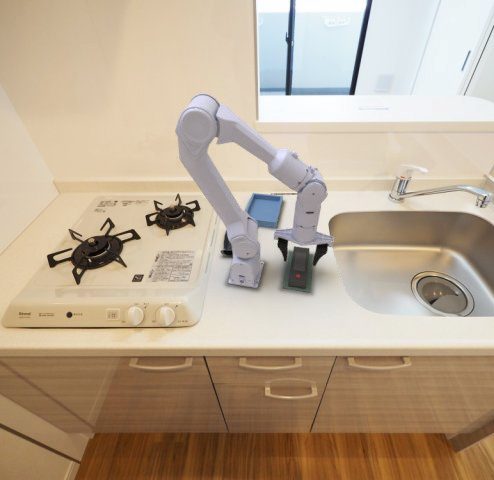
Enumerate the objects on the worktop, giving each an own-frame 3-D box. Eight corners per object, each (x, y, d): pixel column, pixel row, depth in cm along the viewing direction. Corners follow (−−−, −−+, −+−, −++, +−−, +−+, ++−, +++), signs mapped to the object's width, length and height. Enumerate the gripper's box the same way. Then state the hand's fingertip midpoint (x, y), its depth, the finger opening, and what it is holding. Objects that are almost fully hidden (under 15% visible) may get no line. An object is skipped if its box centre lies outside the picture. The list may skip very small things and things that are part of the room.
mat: (309, 292, 67) (310, 291, 66) (282, 288, 68) (282, 287, 67) (312, 255, 77) (312, 254, 77) (289, 251, 78) (289, 250, 78)
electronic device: (253, 260, 77) (256, 224, 87) (250, 249, 73) (253, 212, 83) (223, 262, 79) (229, 226, 88) (218, 251, 75) (225, 214, 84)
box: (275, 228, 87) (276, 222, 85) (242, 224, 89) (241, 218, 87) (282, 201, 99) (282, 196, 97) (252, 198, 101) (252, 192, 99)
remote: (305, 289, 67) (306, 282, 65) (287, 286, 68) (288, 279, 66) (308, 254, 76) (309, 247, 75) (293, 252, 77) (293, 245, 75)
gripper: (337, 214, 63) (327, 254, 72) (277, 207, 65) (275, 247, 74) (337, 232, 57) (327, 273, 66) (273, 224, 60) (271, 265, 69)
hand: (299, 261), depth 70 cm, fingers open, 7 cm apart
